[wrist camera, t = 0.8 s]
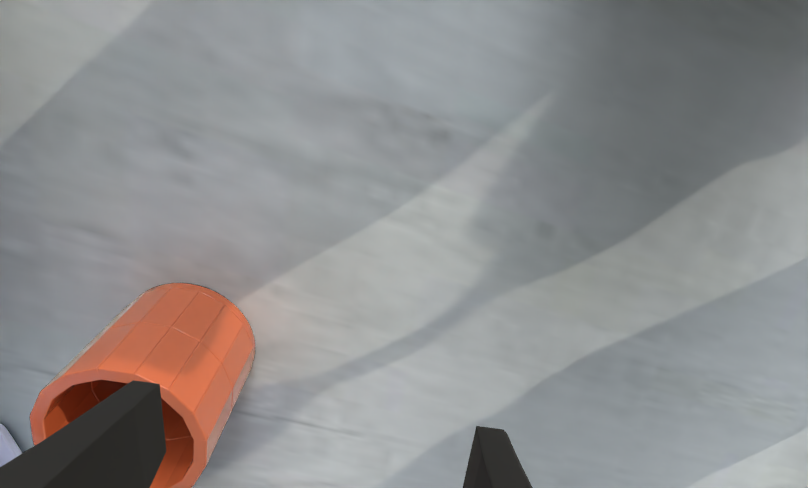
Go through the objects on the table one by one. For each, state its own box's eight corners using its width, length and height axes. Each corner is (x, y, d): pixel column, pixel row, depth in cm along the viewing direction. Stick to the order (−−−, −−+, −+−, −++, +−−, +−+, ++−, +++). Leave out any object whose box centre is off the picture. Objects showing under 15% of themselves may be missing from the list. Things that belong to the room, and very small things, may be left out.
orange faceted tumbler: (155, 404, 24) (79, 516, 19) (100, 297, 22) (-3, 387, 17) (272, 382, 24) (230, 491, 18) (228, 270, 22) (166, 354, 16)
